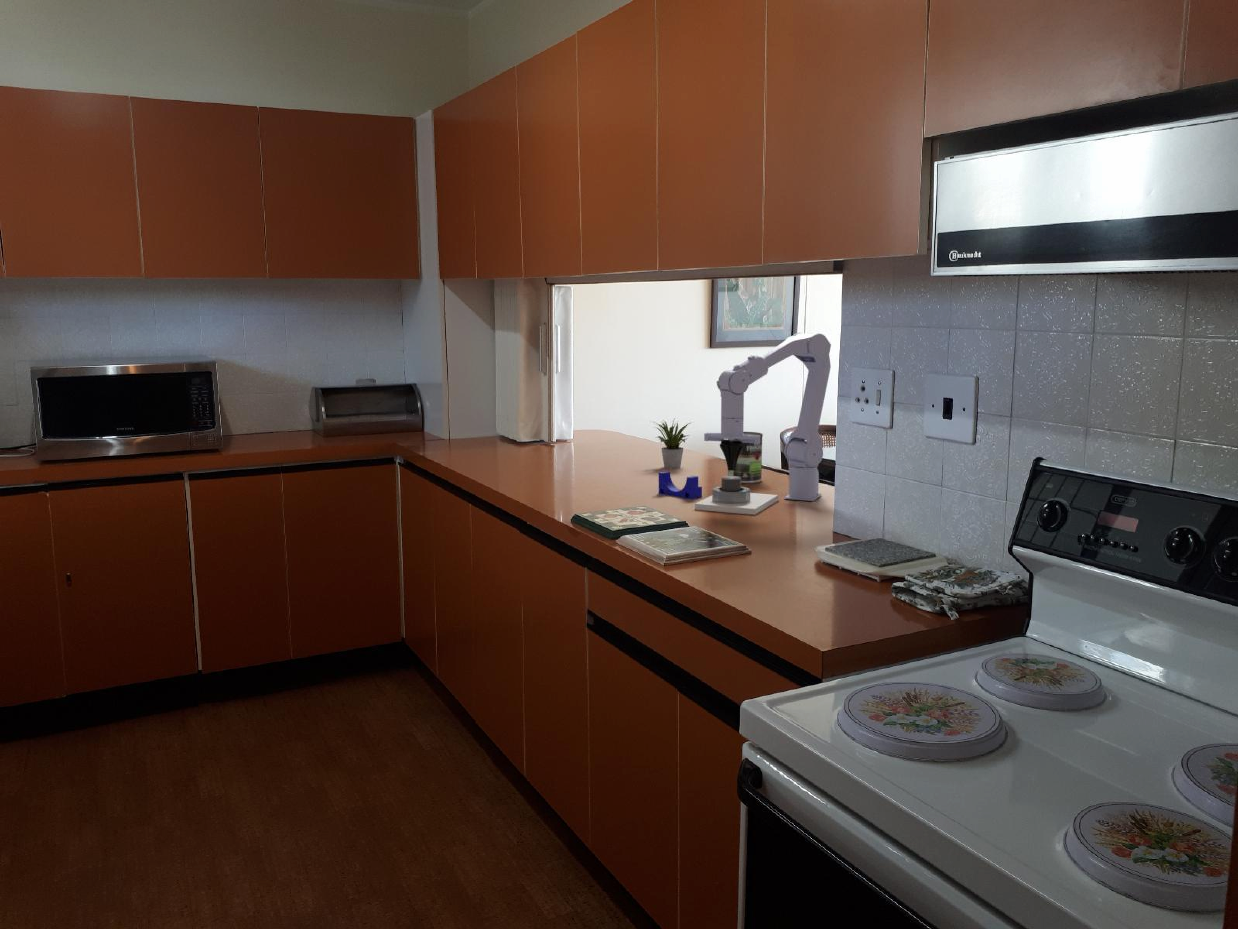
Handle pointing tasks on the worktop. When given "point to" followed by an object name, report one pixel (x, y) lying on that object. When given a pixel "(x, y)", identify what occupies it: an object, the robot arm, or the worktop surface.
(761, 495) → the socket board
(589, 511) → the worktop surface
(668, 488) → the blue u-shaped cradle block
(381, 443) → the worktop surface
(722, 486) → the dark gray cylinder
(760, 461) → the coffee can
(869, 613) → the worktop surface
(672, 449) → the house plant
